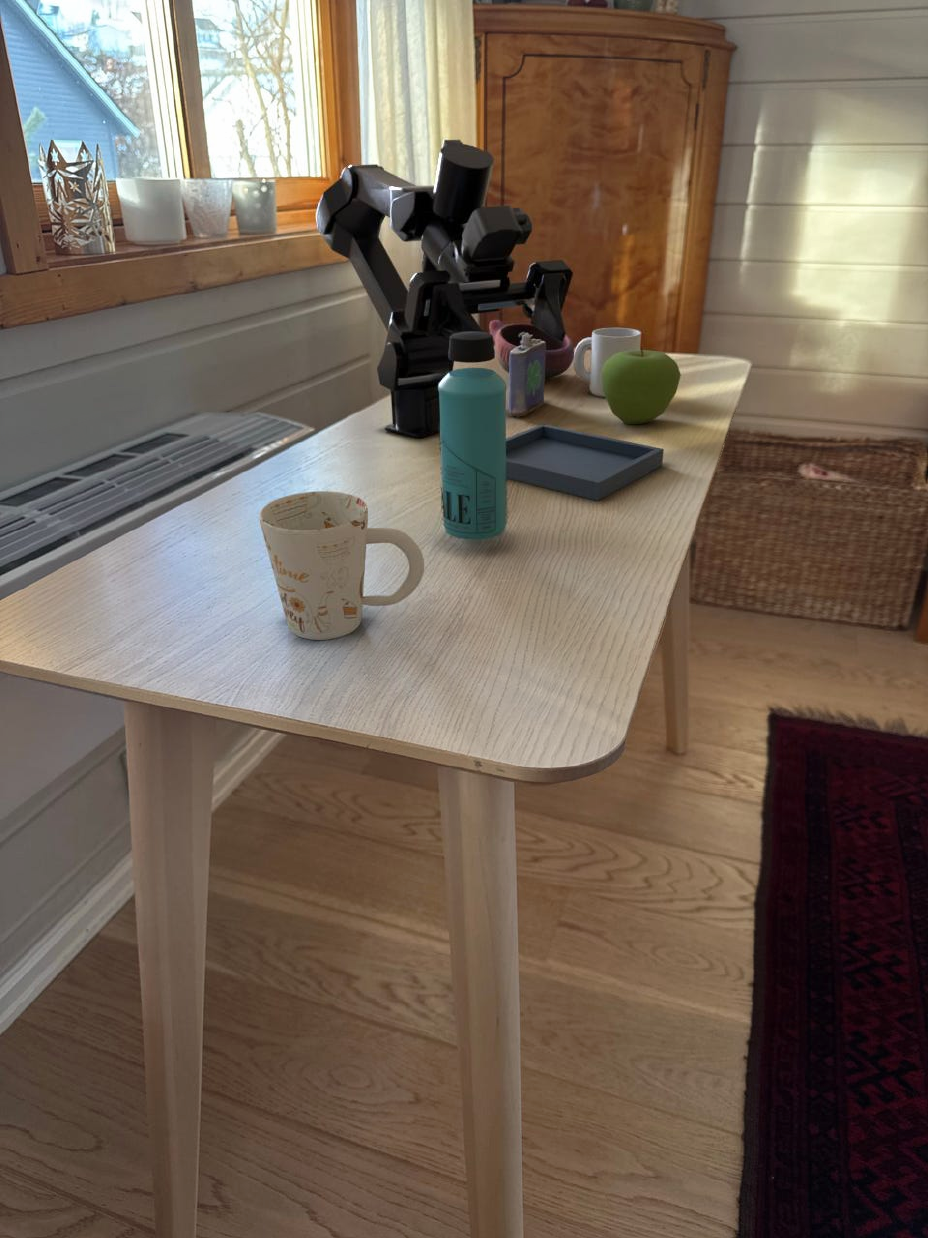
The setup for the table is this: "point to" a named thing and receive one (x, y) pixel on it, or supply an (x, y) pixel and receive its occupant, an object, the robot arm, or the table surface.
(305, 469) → the table surface
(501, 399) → the beverage bottle
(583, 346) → the cup
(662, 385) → the apple
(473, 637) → the table surface
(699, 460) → the table surface
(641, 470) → the tray
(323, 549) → the mug
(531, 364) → the flask
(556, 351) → the bowl
